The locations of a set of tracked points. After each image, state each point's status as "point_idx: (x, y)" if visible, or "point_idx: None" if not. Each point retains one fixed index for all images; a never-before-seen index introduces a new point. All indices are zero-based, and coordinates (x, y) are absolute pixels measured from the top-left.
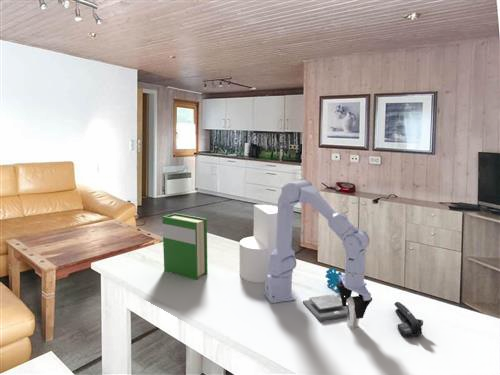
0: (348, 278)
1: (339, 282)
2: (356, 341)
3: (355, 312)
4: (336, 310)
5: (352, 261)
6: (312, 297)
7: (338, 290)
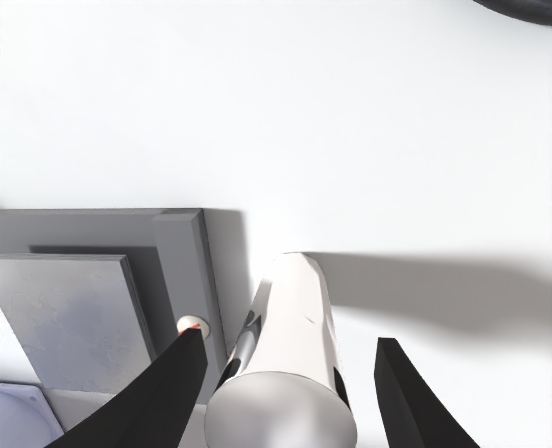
0: None
1: None
2: (432, 334)
3: (385, 426)
4: (149, 295)
5: None
6: (40, 376)
7: None
